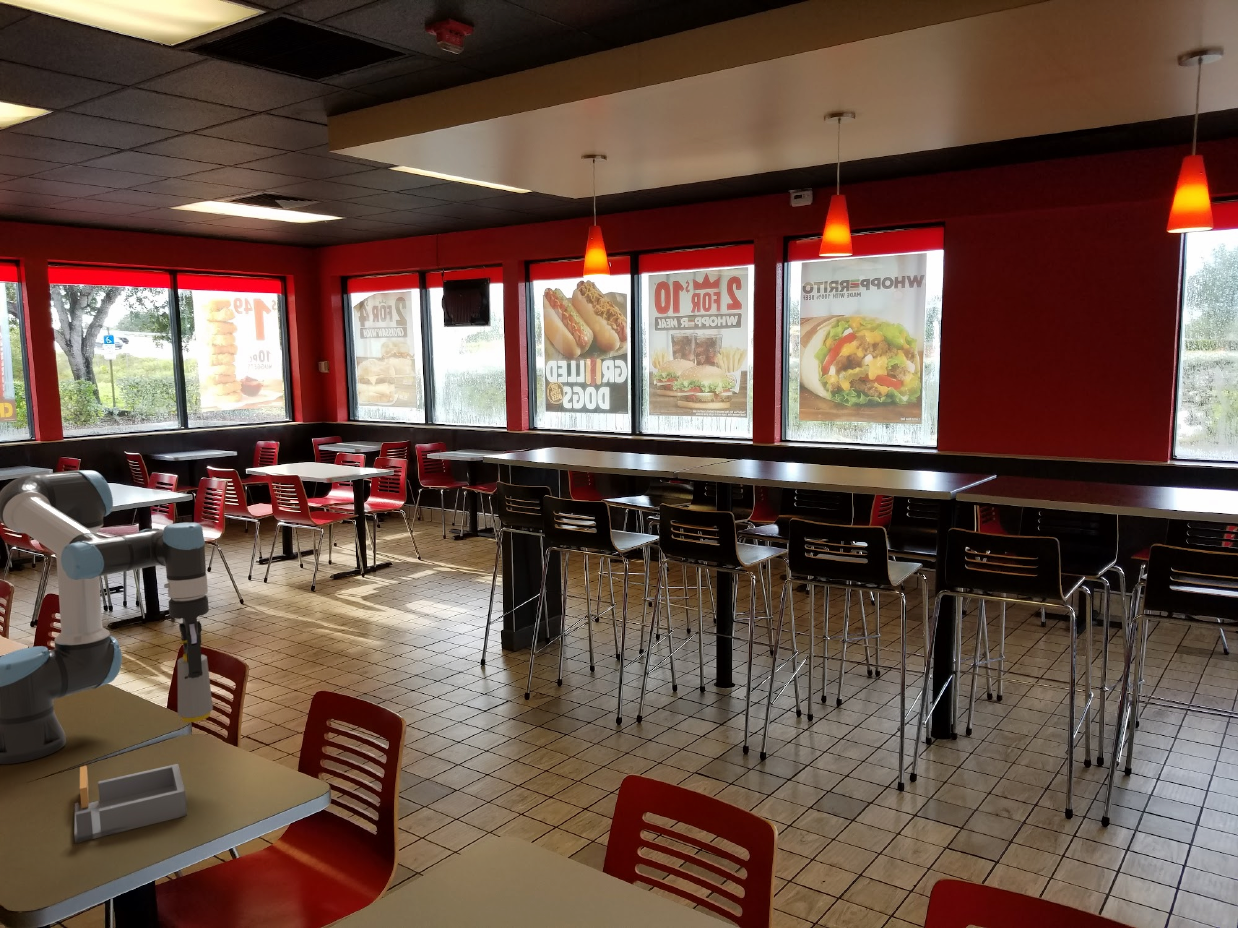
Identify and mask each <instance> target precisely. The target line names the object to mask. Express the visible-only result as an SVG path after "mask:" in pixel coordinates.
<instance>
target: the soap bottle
mask: <svg viewBox="0 0 1238 928" xmlns="http://www.w3.org/2000/svg"><path fill="white" fill-rule="evenodd" d="M183 643H187V640H185V641H183V640H181V641H180V642H179V644H180V645H183ZM201 662H202V672H203V674H202V676H199V677H196V678H192V677H191V678H189V677H188V678H187V679H185V677H186V676H188V674H189V669H188V663H187V655H186V653H185V654H184V653H183V655H182V657H179V659H178V660H177V715H178V716H179V717H180V719H181V721H183V722H185V723H195V722H200V721H203V720H206V719H207V718H209V717H210V716H211V712H212V711H213V710H214V706H213V699H212V698H213V697H212V691H211V689H212V688H211V681H210V673H209V672H210V671H209V663H208V662H209V661H208V656H207V655H205V654H201ZM184 676H185V677H184Z"/></svg>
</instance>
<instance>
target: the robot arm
mask: <svg viewBox="0 0 1238 928" xmlns="http://www.w3.org/2000/svg"><path fill="white" fill-rule="evenodd" d="M113 499H114V498H113V493H112V491H111V488H110V485H109V483H108V482H107V480H106V479H105V477H104V476H103V475H102V474H101V473H99V472H98V471H96V470H92V469H91V470H85V469H84V470H83V469H82V470H80V469H79V470H76V469H75V470H68V471H67V470H66V471H57V472H50V473H41V474H29V475H25V476H21V477H18V478H15V479H14V480H12V481H10V482H9V483H8V484H6V485H5V486H4V487H3V488H2V489H1V490H0V522H1V523H2V524H3V525H4V526H5V527H6V528H8V529H10V530H11V531H13V532H16V533H19V534H20V533H21V534H26V535H27V536H29V537H30V538H32V539H33V540H34V541H36V542H38V543H39V544H41V545H43V546H44V547H46V548H47V549H48V550H50V551H52V552H53V553H55V554H56V555H55V557H56V569H57V570H56V572H57V585H58V589H57V590H58V599H59V600H58V602H59V616H60V630H61V631H60V633H59V634H58V635H56V637H55V638H54V648H53V649H50V650H49V648H48V647H47V646H43V645H41V646H40V645H39V646H38V645H37V646H31V647H26V648H25V647H24V648H20V649H17V650H14V651H12V652H8V653H6V654H4V655H1V656H0V765H10V764H18V763H19V764H20V763H25V762H29V761H33V760H34V761H35V760H37V759H41V758H44V757H48V756H49V755H52V754H53V753H56V752H58V751H59V750H61V749H62V748H63V747H64V746H65V745H66V743H67V740H66V733H65V731H64V729H63V727H62V725H61V723H60V721H59V719H58V717H57V715H56V713H55V707H54V706H55V705H54V701H55V700H56V699H61V698H63V697H68V696H71V695H74V694H79V693H81V692H85V691H90V690H94V689H98V688H100V687H102V686H104V685H107V684H110V683H112V682H113V681H114V680H115V679H116V678H117V677H118V675H119V674H120V671H121V667H122V661H123V660H122V659H123V658H122V657H123V655H122V654H123V653H122V649H121V648H120V643H119V641H118V640H117V639H116V638H115V637H114V636H111V635H110V633H111V632H110V631H109V630H108V629H106V628H105V627H103V619H102V618H103V616H102V602H101V601H102V600H101V598H102V597H101V583H100V577H103V576H107V575H113V574H117V573H122V572H127V571H128V572H129V571H134V570H140V569H145V568H149V567H155V566H161V567H165V571H166V572H165V574H166V581H167V583H164V585H163V588H164V589H167V596H168V598H169V600H168V613H169V617H170V618H172V619H176V620H180V619H182V622H180V623H178V628H179V632H180V635H181V636H180V638H181V639H180V640H181V641H182V640H183V641H185V640H187V643H183V644H182V645H183V655H184V654H185V653H186V655H187V663H188V669H189V674H188V676H186V677H185V676H184V677H185V679H187V678H188V677H189V678H191V677H192V678H196V677H199V676H202V674H203V672H202V662H201V655H202V647H201V645H202V634H201V633H202V631H203V629H202V628H203V627H202V623H201V622H200V620H198V618H199V616H200V617H202V616H204V615H207V613H208V612H209V610H210V607H209V596H208V595H206V594H207V593H208V592H209V589H208V578H207V576H208V575H207V566H206V565H207V564H206V563H207V562H206V550H205V549H206V547H205V546H206V545H205V544H206V541H205V537H204V532H203V526H202V525H201V524H200V523H199V522H179V523H172V524H167V525H165V526H164V528H163V529H161V528H155V527H154V528H145V529H142V530H139V531H138V532H136V533H130V534H124V535H123V534H122V535H117V536H109V537H102V536H101V535H98V534H97V533H98V531H99V530H100V529H101V528H102V527H103V526H104V517H107V516H108V515H109V514H111V513H112V510H113V507H114V500H113Z"/></svg>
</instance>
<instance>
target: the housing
mask: <svg viewBox="0 0 1238 928" xmlns="http://www.w3.org/2000/svg"><path fill="white" fill-rule="evenodd" d="M97 787H98V799H99V800H95V801H93V802H92V801H91V802H89V807H85V808H81V804H80V803H79V802H76V803H74V829H73V830H74V832H73V833H74V844H79V843H83V842H86V841H91V840H95V839H99V838H102V837H107V836H110V835H114V834H119V833H122V832H126V831H130V830H134V829H138V828H143V827H146V826H151V825H154V824H157V823H162V822H166V821H169V820H174V819H178V818H181V817H186V816H187V815H188V814H187V811H188V810H187V801H186V789H185V786H184V783H183V778H182V774H181V770H180V766H179V763H175V764H171V765H166V766H162V767H157V768H154V769H147V770H145V771H140V772H135V773H130V774H126V775H121V776H117V777H113V778H108V779H104V780H98V781H97Z"/></svg>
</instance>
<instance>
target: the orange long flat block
mask: <svg viewBox="0 0 1238 928" xmlns="http://www.w3.org/2000/svg"><path fill="white" fill-rule="evenodd" d="M88 778H89V776H88V766H87V765H84V766H80V767H79V794H80V805H81V808H85V807H89V803H90V802H89V779H88Z"/></svg>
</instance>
